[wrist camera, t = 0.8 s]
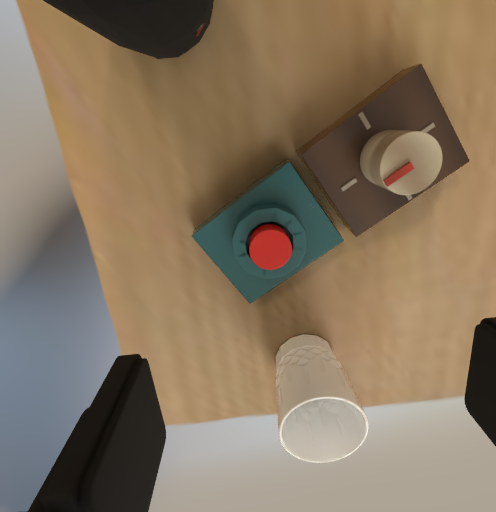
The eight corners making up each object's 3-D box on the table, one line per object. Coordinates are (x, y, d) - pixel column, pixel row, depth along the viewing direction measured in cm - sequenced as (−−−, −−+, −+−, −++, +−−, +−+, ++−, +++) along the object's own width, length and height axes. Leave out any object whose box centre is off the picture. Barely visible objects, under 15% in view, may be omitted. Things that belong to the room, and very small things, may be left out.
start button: (274, 215, 29) (275, 221, 28) (297, 246, 30) (300, 254, 29) (240, 239, 30) (240, 246, 28) (264, 269, 31) (266, 277, 29)
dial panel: (404, 68, 28) (422, 62, 25) (449, 157, 31) (471, 161, 28) (295, 151, 31) (301, 155, 28) (346, 227, 33) (356, 237, 30)
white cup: (301, 395, 41) (318, 475, 32) (256, 358, 39) (260, 432, 30) (352, 357, 39) (386, 430, 30) (307, 316, 37) (329, 381, 28)
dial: (397, 117, 27) (428, 117, 22) (422, 163, 28) (455, 171, 24) (349, 152, 28) (370, 158, 23) (376, 195, 29) (400, 208, 25)
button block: (286, 158, 31) (292, 163, 27) (338, 233, 34) (350, 247, 30) (194, 229, 33) (188, 242, 30) (249, 293, 36) (250, 313, 32)
